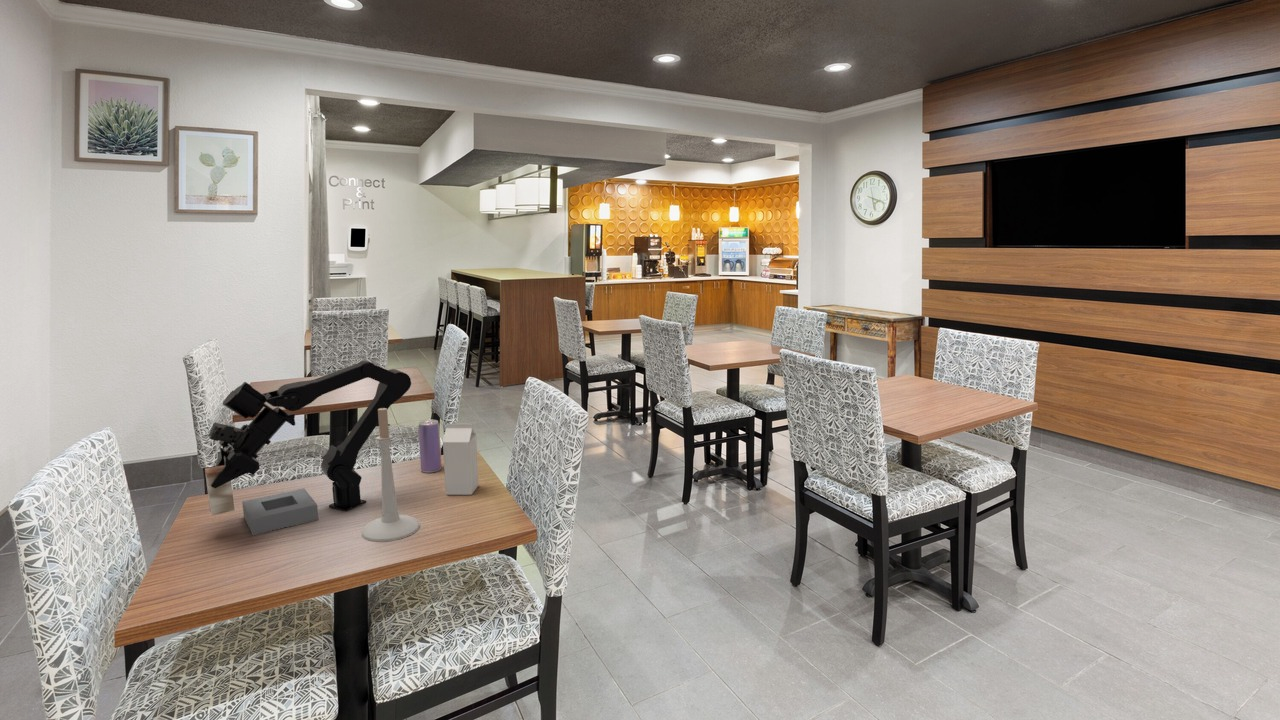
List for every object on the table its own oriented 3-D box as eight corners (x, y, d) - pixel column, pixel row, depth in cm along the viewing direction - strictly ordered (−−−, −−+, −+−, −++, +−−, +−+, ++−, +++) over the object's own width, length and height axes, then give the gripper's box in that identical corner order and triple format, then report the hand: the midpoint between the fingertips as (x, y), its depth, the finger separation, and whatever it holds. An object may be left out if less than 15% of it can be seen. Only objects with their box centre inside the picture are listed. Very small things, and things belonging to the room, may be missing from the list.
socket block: (305, 502, 168) (304, 488, 167) (318, 519, 157) (317, 504, 157) (243, 516, 159) (242, 501, 159) (253, 535, 149) (251, 519, 148)
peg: (231, 504, 152) (227, 464, 150) (234, 510, 148) (229, 469, 147) (209, 509, 149) (204, 468, 147) (211, 515, 146) (206, 473, 144)
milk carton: (471, 495, 173) (468, 427, 170) (445, 495, 173) (441, 427, 170) (478, 485, 180) (475, 420, 177) (453, 485, 180) (450, 420, 177)
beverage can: (435, 474, 189) (432, 425, 187) (417, 472, 191) (414, 424, 188) (445, 467, 195) (442, 419, 193) (427, 466, 196) (424, 419, 194)
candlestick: (396, 545, 144) (387, 415, 139) (349, 537, 147) (338, 411, 142) (430, 522, 156) (423, 402, 151) (386, 516, 159) (377, 399, 154)
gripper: (225, 402, 154) (175, 455, 149) (236, 417, 140) (181, 477, 135) (266, 428, 161) (219, 480, 156) (280, 445, 146) (229, 503, 141)
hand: (211, 484), depth 147 cm, fingers closed on peg, 4 cm apart
